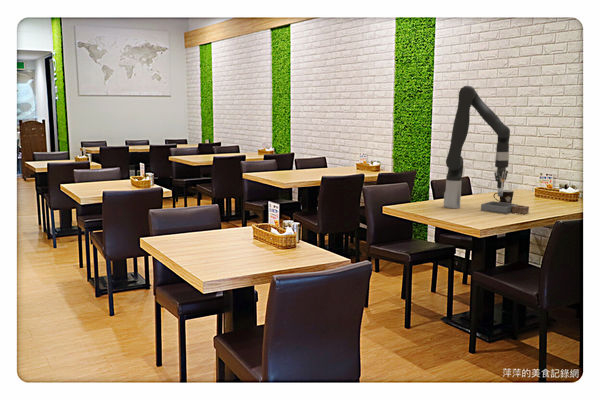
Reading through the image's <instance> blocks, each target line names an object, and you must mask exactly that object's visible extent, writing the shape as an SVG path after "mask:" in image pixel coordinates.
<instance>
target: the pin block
mask: <svg viewBox="0 0 600 400" xmlns="http://www.w3.org/2000/svg"><path fill="white" fill-rule="evenodd" d="M529 211H530V206H529V205H522V204H521V205H520V204H517V205H516V206H512V212H511V213H512V214H515V213H516V214H517V215H523V216H524V215H527V214H529Z"/></svg>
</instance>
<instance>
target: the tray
mask: <svg viewBox="0 0 600 400" xmlns="http://www.w3.org/2000/svg"><path fill="white" fill-rule="evenodd" d="M516 205H518V203H503V202H499V201H494V200H492V201H488V202H484V203H481V204H480V212H481V211H482V212H489V213H497V214H502V213H503V215H507V214H511V213H512V206H516Z"/></svg>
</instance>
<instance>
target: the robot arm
mask: <svg viewBox="0 0 600 400" xmlns="http://www.w3.org/2000/svg"><path fill="white" fill-rule="evenodd" d="M471 106H472V107H473V109H474V110H476V112H477V114H478V115H480V117H481V118H482V120H483V121H484V122H485V123H486V124H487V125H488V126H489V127H490V128H491V129H492V130H493V131H494V132H495V134H496V135H497V143H496V149H495V151H496V152H495V158H494V159H495V161H494V162H495V163H494V167H495V168H496V171H495V172H494V179H495V182H496V183H497V184H496V185H497V189H498V188H501V181H502V179H504V181H503V188H504V187H505V186H504V185H505V181H506V180H507V178H508V174H509V171H508V170H507V169H508V168H509V160H510V155H509V154H510V153H509V151H510V137H511V130H510V128H509V127H508V126H507V125H506V124H504V122H503V121H501V119H500V117H499V116H498V115H497V114H496V113H495V112H494V111H493V110H492V109H491V108H490V107H489V106H488V105H487V104H486V103H485V102H484V101H483V99H482V98H481V97H480V96H479V94H478V93H477V91H476V89H475V88H474V87H473V86H471V85H464V86H462V87H461V88H460V89H459V91H458V102H457V108H456V109H457V110H456V113H455V116H454V120H453V126H452V132H451V135H450V136H451V137H450V144H449V145H450V146H449V149H448V153H447V157H446V160H445V165H446V167H447V174H446V176H445V177H446V179H445V191H444V193H443V208H447V209H460V208H461V198H462V180H463V178H462V177H463V173H464V158H463V157H462V151H463V147H464V143H465V141H466V140H467V136H468V134H469V127H470V115H471V112H470V111H471Z"/></svg>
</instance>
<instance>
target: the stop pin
mask: <svg viewBox="0 0 600 400" xmlns="http://www.w3.org/2000/svg"><path fill="white" fill-rule="evenodd" d="M503 181H504V179H502V181H501V188H497V193H498V194H497V197H500V196H502V195H503V190H504V187H503ZM504 182H505V181H504Z"/></svg>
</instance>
